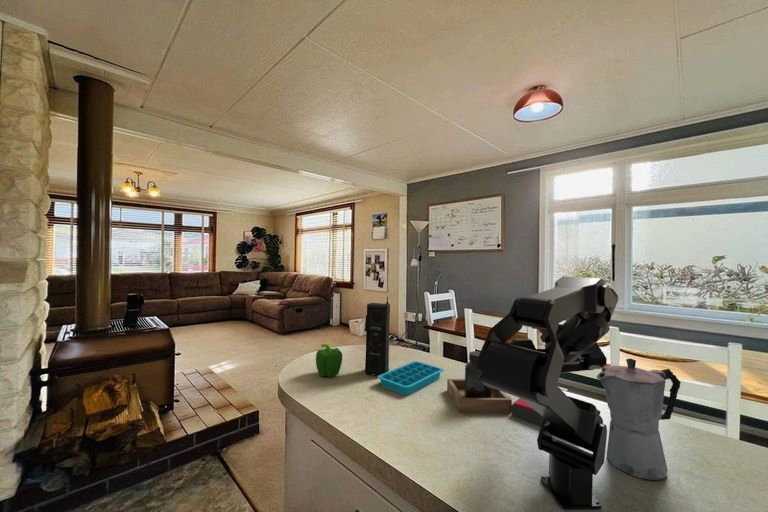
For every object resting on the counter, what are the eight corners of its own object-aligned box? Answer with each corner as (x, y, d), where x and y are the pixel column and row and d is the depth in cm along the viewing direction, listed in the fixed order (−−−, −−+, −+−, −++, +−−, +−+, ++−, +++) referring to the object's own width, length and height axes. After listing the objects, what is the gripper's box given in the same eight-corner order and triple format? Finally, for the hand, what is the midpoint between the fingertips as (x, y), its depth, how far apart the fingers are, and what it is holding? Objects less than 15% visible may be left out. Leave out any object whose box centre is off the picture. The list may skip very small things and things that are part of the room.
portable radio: (361, 374, 101) (362, 297, 101) (367, 368, 107) (369, 295, 107) (384, 377, 99) (386, 298, 99) (389, 370, 105) (391, 296, 105)
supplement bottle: (474, 390, 88) (475, 348, 88) (496, 400, 83) (497, 354, 83) (459, 396, 84) (460, 352, 84) (480, 406, 79) (481, 359, 79)
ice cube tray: (444, 378, 100) (444, 369, 100) (407, 399, 85) (407, 388, 85) (415, 369, 108) (415, 360, 108) (375, 386, 93) (375, 376, 93)
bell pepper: (345, 371, 104) (345, 340, 104) (337, 380, 96) (338, 348, 96) (320, 369, 105) (321, 339, 105) (311, 378, 97) (312, 346, 97)
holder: (511, 413, 78) (511, 399, 78) (460, 412, 77) (460, 399, 77) (491, 390, 91) (491, 379, 91) (447, 390, 90) (447, 378, 90)
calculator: (527, 389, 85) (592, 405, 74) (528, 405, 84) (593, 424, 74) (510, 401, 77) (581, 422, 66) (511, 419, 77) (581, 443, 66)
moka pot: (580, 449, 63) (582, 351, 63) (651, 448, 64) (653, 351, 64) (618, 484, 54) (621, 368, 54) (701, 481, 55) (703, 367, 55)
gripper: (596, 299, 65) (557, 338, 76) (514, 299, 62) (485, 340, 73) (631, 348, 57) (582, 384, 68) (539, 351, 54) (503, 388, 65)
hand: (537, 372), depth 69 cm, fingers open, 9 cm apart
